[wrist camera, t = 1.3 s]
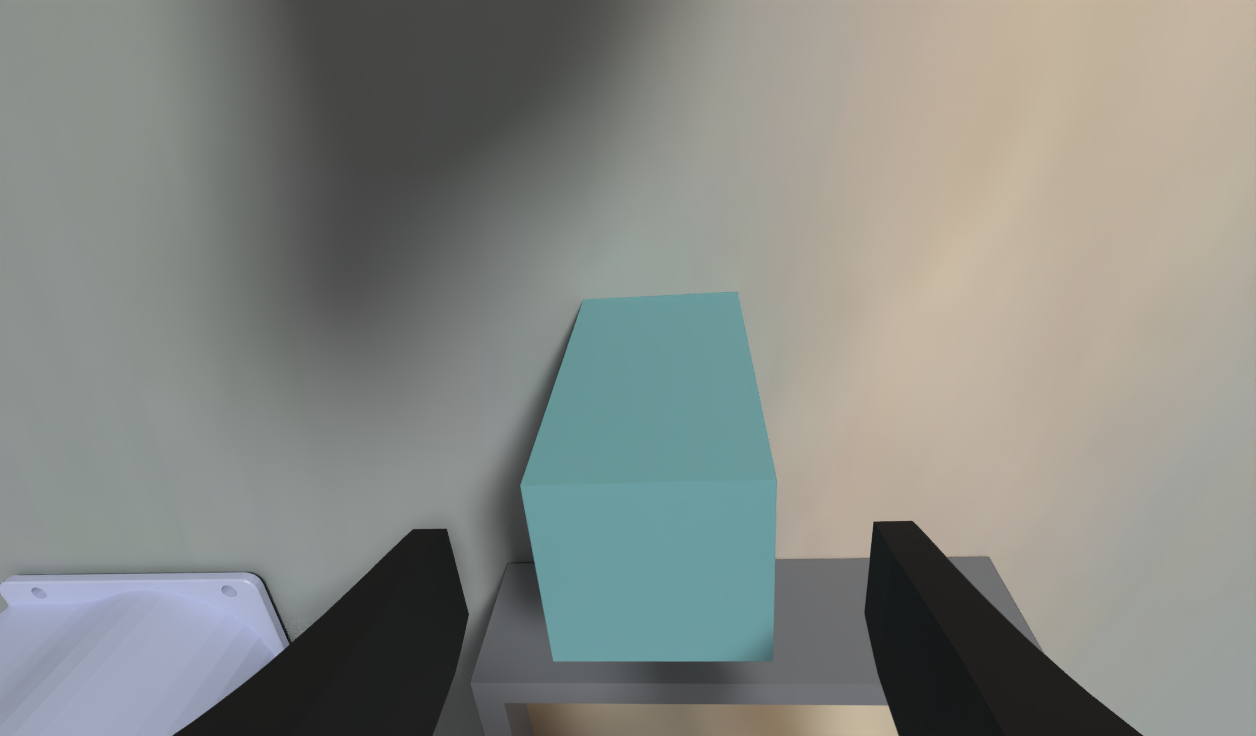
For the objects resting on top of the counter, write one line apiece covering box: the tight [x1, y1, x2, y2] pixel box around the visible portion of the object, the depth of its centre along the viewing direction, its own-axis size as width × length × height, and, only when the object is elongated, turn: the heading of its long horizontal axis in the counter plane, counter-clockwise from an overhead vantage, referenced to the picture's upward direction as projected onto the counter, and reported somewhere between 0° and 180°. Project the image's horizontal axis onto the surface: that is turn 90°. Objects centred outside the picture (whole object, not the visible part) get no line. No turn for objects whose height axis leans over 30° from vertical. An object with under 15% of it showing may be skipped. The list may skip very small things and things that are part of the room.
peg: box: [520, 292, 777, 661], centre depth 15 cm, size 4×4×8 cm
